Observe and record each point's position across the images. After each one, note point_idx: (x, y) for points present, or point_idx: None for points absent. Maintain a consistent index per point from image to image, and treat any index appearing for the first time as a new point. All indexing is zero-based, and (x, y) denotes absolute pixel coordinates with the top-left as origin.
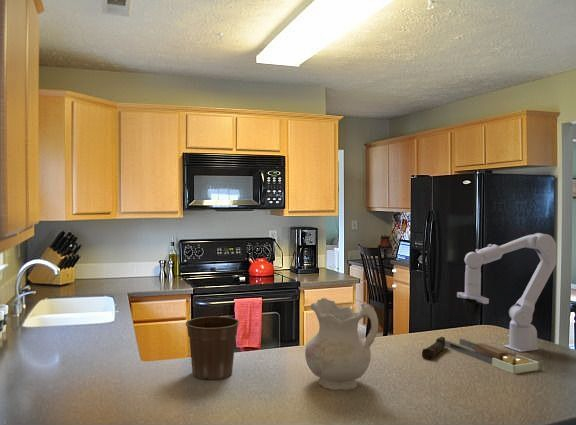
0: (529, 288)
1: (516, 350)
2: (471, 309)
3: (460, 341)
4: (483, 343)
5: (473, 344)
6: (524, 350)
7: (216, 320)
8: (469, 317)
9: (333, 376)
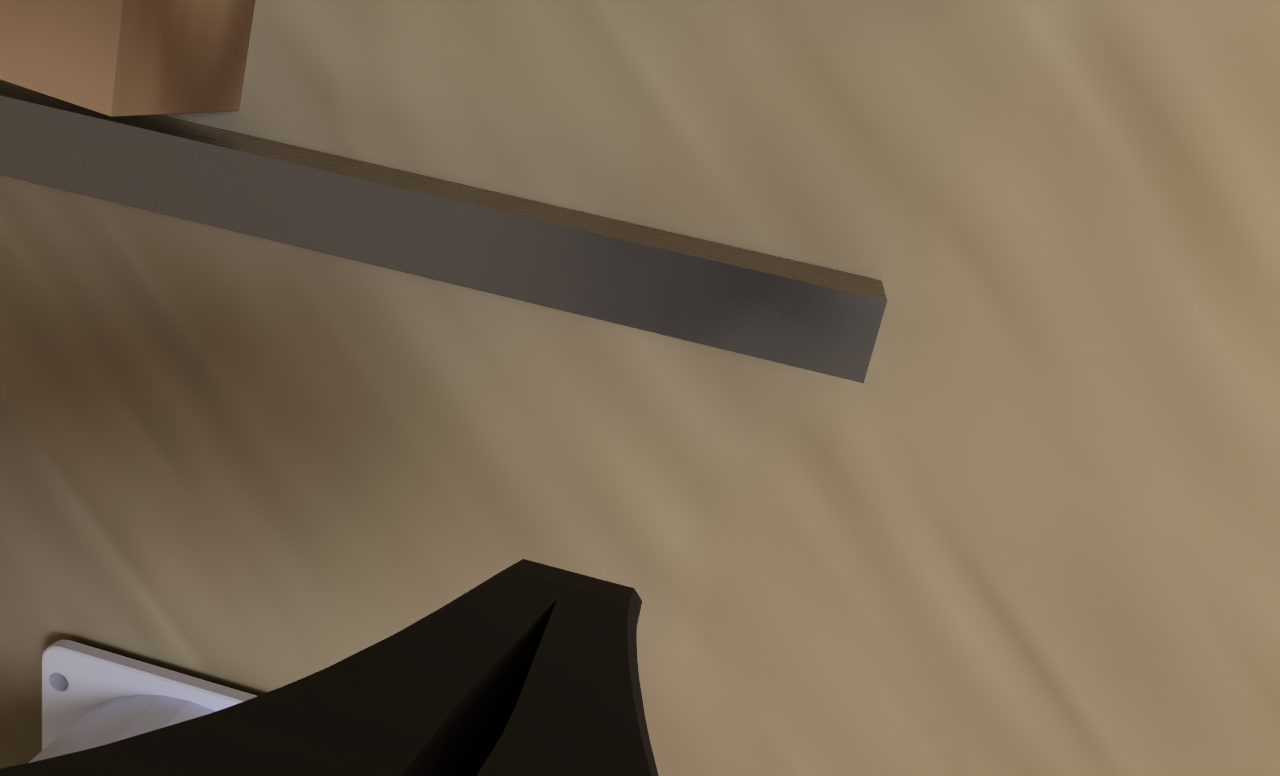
0: None
1: (115, 655)
2: (203, 718)
3: (858, 286)
4: (89, 60)
5: (481, 204)
6: (42, 710)
7: None
8: (564, 595)
9: None
